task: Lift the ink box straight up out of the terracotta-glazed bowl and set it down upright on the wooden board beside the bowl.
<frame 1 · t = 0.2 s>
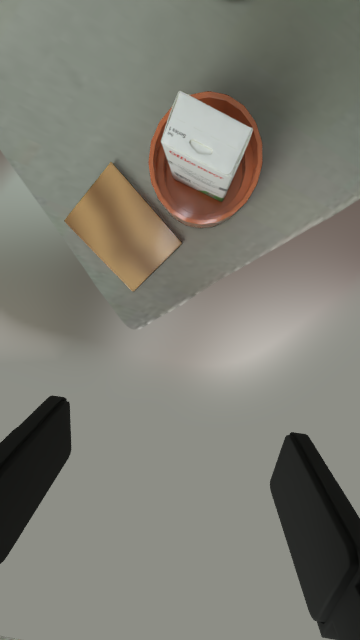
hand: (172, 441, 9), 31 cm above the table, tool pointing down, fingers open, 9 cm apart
ink box: (203, 175, 33), resting on bowl
bowl: (203, 176, 33), on the table
wooden board: (124, 232, 36), on the table
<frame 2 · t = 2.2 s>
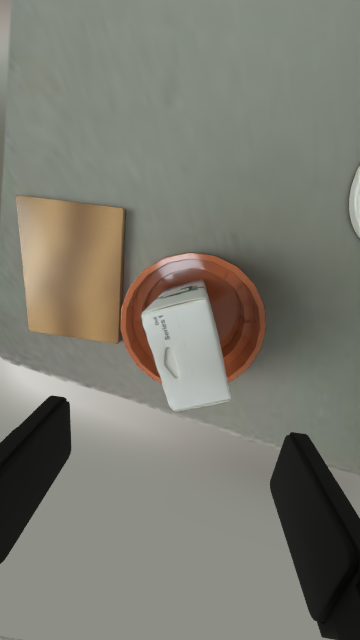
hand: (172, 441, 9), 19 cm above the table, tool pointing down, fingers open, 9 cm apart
ink box: (192, 315, 27), resting on bowl
bowl: (192, 315, 27), on the table
wooden board: (74, 275, 26), on the table
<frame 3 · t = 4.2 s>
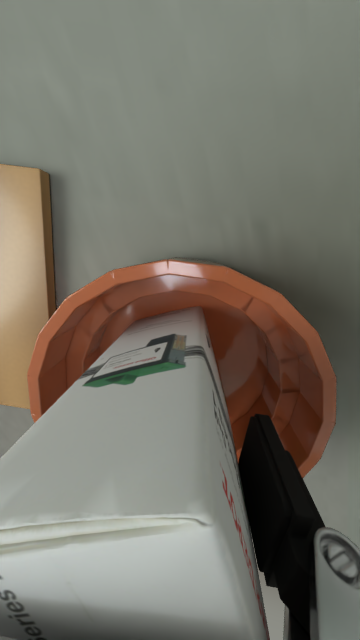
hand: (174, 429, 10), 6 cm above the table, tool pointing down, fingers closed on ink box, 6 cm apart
ink box: (181, 367, 15), resting on bowl, touching gripper
bowl: (181, 367, 15), on the table
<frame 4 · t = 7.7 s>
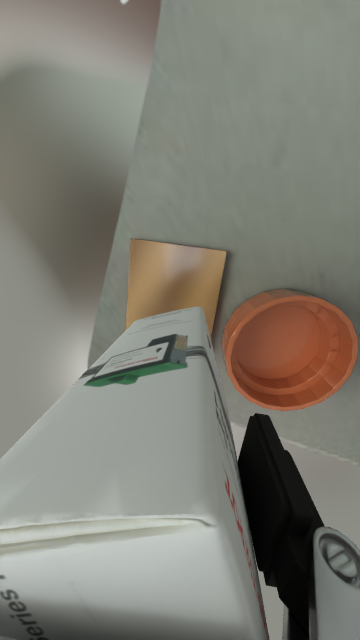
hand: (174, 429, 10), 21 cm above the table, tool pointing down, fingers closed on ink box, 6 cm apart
ink box: (181, 367, 15), point 15 cm above the table, touching gripper
bowl: (275, 341, 30), on the table
wooden board: (171, 305, 30), on the table
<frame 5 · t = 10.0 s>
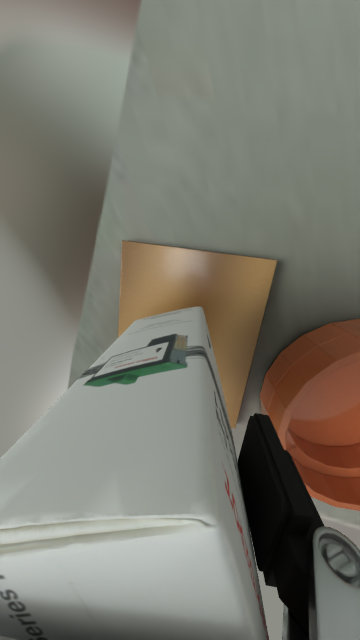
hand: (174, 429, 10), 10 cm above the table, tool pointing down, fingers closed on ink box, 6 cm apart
ink box: (181, 367, 15), point 5 cm above the table, touching gripper
bowl: (341, 394, 20), on the table
wooden board: (185, 341, 20), on the table
when the fingers open (6 cm above the table, at t = 11.5 s): ink box stays where it is, resting on wooden board.
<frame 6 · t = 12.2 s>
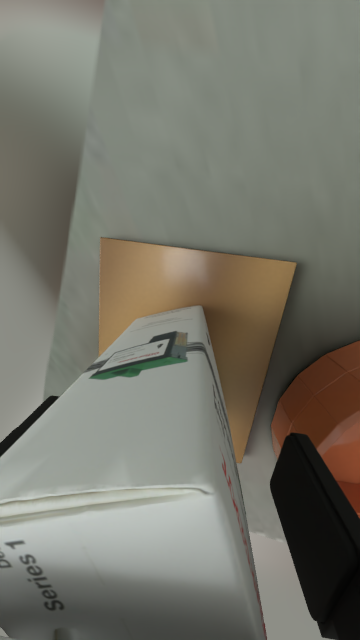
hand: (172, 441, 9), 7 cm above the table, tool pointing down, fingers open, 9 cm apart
ink box: (181, 365, 16), point 1 cm above the table, touching wooden board
wooden board: (181, 361, 16), on the table
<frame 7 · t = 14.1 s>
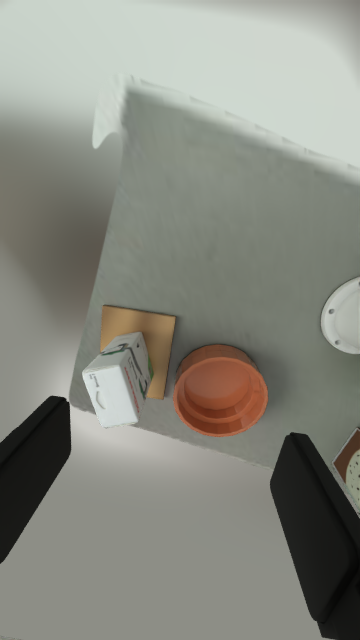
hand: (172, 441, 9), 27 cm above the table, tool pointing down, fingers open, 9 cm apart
food container: (357, 448, 42), on the table
ink box: (135, 355, 37), point 1 cm above the table, touching wooden board
bowl: (216, 381, 39), on the table
wooden board: (135, 353, 38), on the table
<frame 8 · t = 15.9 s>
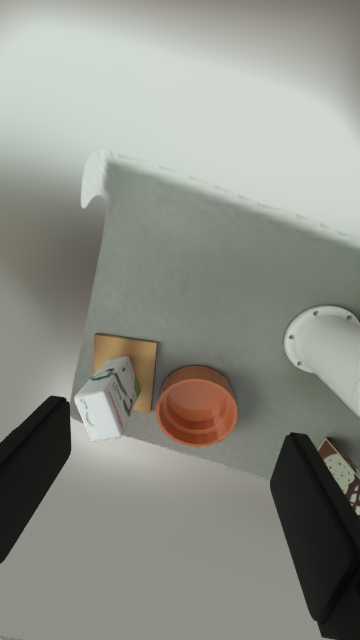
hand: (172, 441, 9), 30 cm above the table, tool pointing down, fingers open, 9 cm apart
food container: (327, 456, 46), on the table
ink box: (123, 375, 43), point 1 cm above the table, touching wooden board
bowl: (196, 397, 44), on the table
wooden board: (124, 373, 44), on the table
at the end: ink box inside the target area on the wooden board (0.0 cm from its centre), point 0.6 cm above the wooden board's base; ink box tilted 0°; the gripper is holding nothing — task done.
